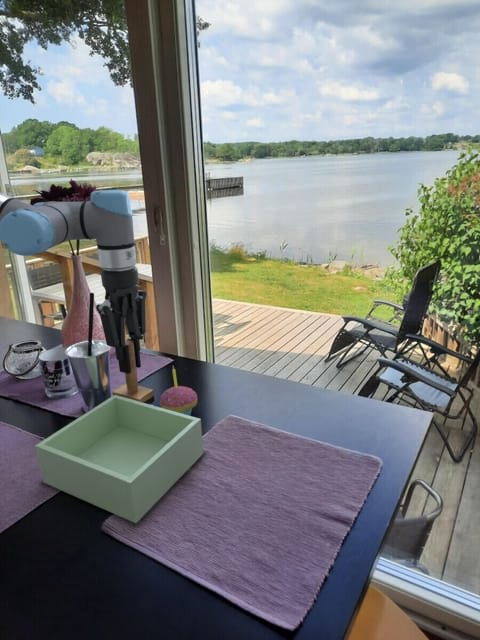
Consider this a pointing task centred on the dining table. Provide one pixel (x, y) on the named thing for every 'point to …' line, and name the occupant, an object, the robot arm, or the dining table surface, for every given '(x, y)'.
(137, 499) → the tub
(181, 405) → the cupcake
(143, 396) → the wooden stamp
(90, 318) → the tall metal cup
